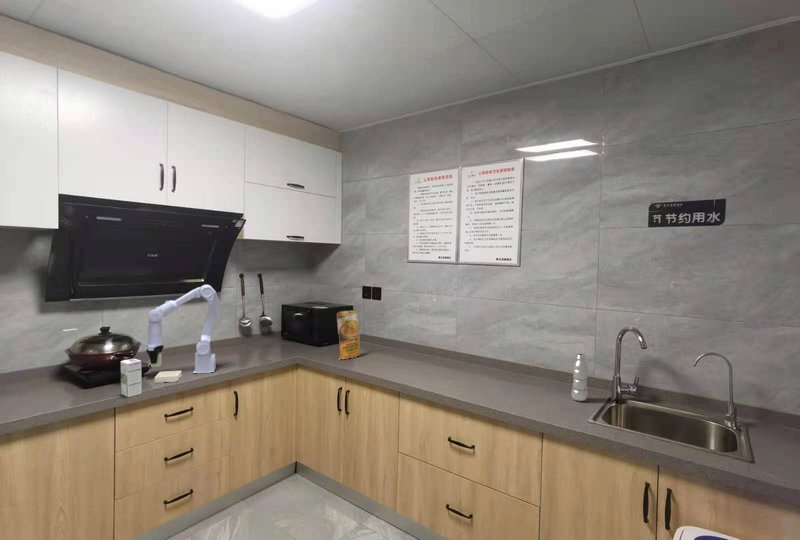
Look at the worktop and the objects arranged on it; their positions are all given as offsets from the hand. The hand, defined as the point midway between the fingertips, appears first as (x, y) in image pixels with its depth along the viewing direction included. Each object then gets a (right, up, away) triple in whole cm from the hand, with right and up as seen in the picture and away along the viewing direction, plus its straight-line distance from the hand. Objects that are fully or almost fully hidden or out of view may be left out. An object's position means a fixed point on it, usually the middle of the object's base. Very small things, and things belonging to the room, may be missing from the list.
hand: (155, 362), depth 196 cm
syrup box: (+5, -8, -25) cm, 27 cm away
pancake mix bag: (+88, -8, +45) cm, 99 cm away
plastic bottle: (+197, -12, -21) cm, 198 cm away
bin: (+9, -7, -5) cm, 13 cm away
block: (0, -2, 0) cm, 2 cm away
